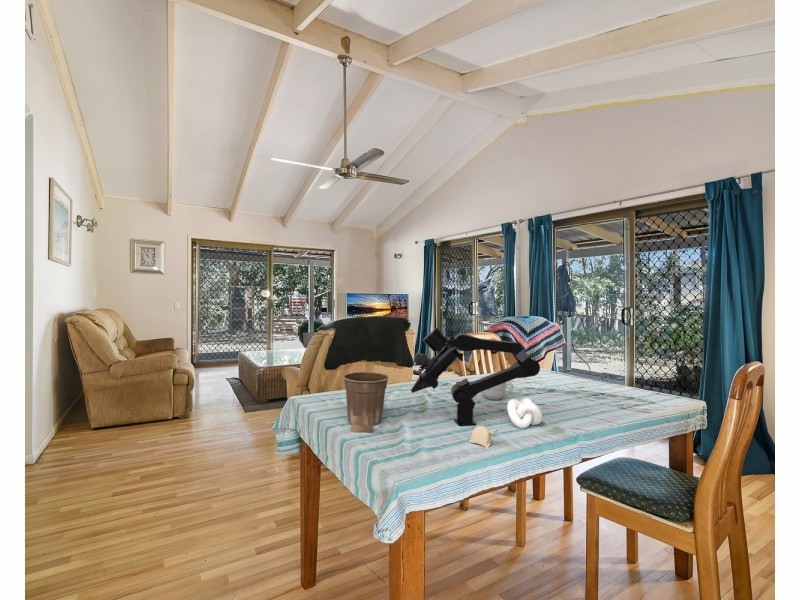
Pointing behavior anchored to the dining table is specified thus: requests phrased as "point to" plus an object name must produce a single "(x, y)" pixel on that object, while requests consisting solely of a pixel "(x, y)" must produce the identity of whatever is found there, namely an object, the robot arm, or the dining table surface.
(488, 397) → the teacup
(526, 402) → the white knot sculpture
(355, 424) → the wooden block
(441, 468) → the dining table surface
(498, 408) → the dining table surface
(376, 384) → the plant pot
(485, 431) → the decorative ornament
